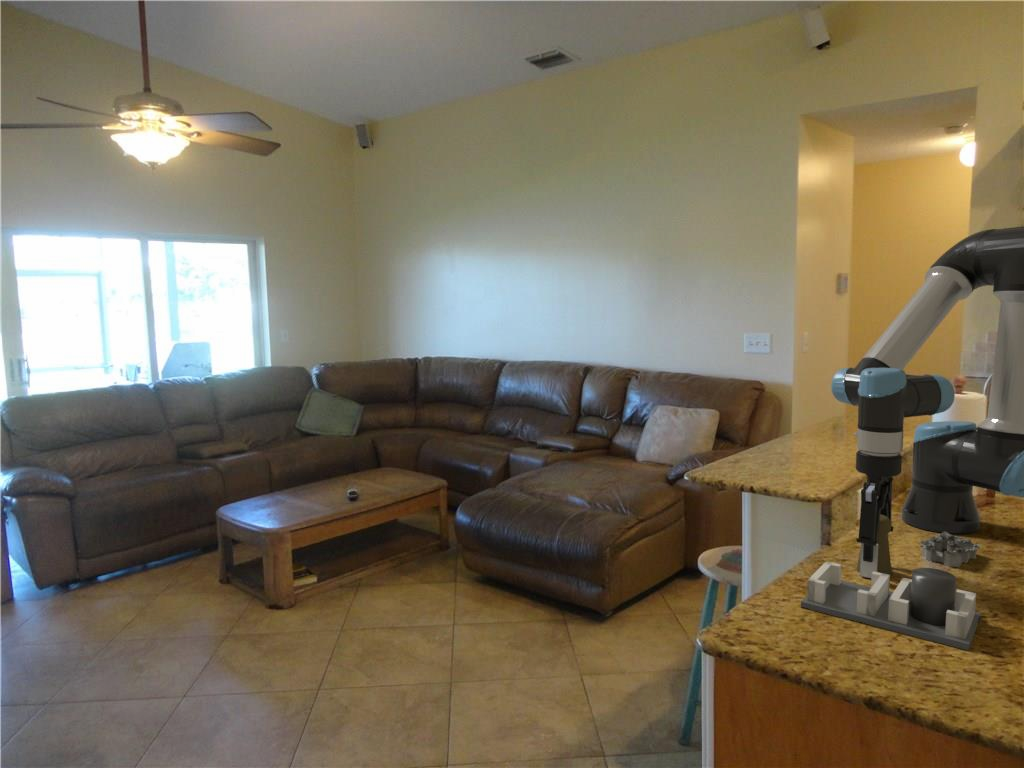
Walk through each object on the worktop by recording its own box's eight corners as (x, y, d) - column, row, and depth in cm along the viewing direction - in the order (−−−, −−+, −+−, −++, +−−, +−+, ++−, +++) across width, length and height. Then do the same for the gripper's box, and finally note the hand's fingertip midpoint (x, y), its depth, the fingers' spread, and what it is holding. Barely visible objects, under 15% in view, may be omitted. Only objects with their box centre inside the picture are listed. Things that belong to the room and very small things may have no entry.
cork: (894, 579, 129) (897, 521, 127) (858, 575, 131) (860, 518, 129) (889, 567, 134) (891, 511, 133) (854, 563, 136) (856, 509, 135)
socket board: (823, 581, 128) (825, 539, 127) (980, 618, 113) (983, 570, 112) (800, 607, 118) (802, 561, 117) (968, 650, 103) (971, 598, 102)
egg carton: (955, 571, 132) (956, 550, 132) (914, 558, 139) (915, 538, 138) (983, 558, 138) (984, 538, 137) (943, 547, 144) (944, 528, 144)
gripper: (870, 439, 139) (865, 550, 142) (841, 459, 124) (837, 582, 127) (913, 444, 135) (907, 558, 138) (888, 465, 119) (882, 593, 122)
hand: (873, 569), depth 132 cm, fingers open, 7 cm apart
